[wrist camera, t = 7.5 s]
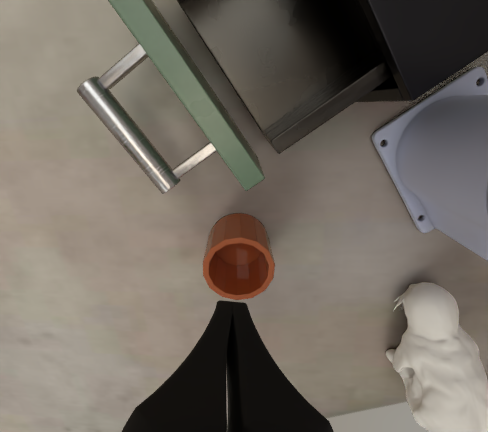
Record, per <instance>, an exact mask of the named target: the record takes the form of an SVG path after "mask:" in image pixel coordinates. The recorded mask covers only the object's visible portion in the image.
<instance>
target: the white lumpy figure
mask: <svg viewBox="0 0 488 432" xmlns="http://www.w3.org/2000/svg"><path fill="white" fill-rule="evenodd" d="M398 299H399V301H398V303H397V305H396V306H395V308H394V310H395V309H396V307H397V306H399V305H400V304H402V303H401V302H403V304H404V311H405V315H406V316H407V319H408V321H407V323H408V328H407V330H406V331H405V332H404V334H403V335H402V340H401V343H400V345H399V346H398V347H397V349H396V350H395V349H389V350H387V351H386V356H387V358H388V359H389V360H390V361H391V362H392V364H393V368H394V369H395V371H396V372H398V373H400V376H401V377H402V378H403V383H404V385H405V387H406V398H407V402H408V404H409V406H410V408H411V410H412V414H413V416H414V418H415V420H416V422H417V424H418V425H420V426H421V427H423V428H425V429H427V430H428V431H429V432H488V381H487V376H486V373H485V370H484V367H483V365H482V362H481V360H480V358H479V348H478V346H477V344H476V343H475V341H474V340H473V339H472V338H471V336H470V335H469V334H468V333H467V332H465V331H464V330H463V328H462V327H461V326H460V325H459V309H458V305H457V302H456V300H455V298H454V297H453V296H452V295H451V294H450V293H449V292H448V291H447V290H446V289H444V288H443V287H441V286H439V285H437V284H434V283H427V282H421V283H418V284H411V285H409V288H408V289H407V290H406V292H405V293H404V294H402V295H401V296H399V297H398V298H397V299H396V300H398ZM396 300H395V301H396ZM395 301H394V302H395ZM402 306H403V305H402ZM399 310H400V309H399ZM401 310H402V309H401Z"/></svg>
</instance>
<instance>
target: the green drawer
mask: <svg viewBox="0 0 488 432" xmlns="http://www.w3.org/2000/svg"><path fill="white" fill-rule="evenodd" d="M108 1H109V2H110V4H111V5H112V7H113V8H114V9H115V11H116V12H117V13H118V15H119V16H120V18H121V19H122V20H123V22H124V23H125V25H126V26H127V27H128V29H129V30H130V31H131V33H132V34H133V36H134V37H135V38H136V40H137V41H138V43H139V44H138V45H137V46H136V47H134V48H133V49H132V50H131V51H130V52H129V53H127V54H126V55H125V56H124V57H123V58H122V59H121V60H119V61H118V62H117V63H116V64H115V65H114V66H113V67H111V68H110V69H109V70H108V71H107V72H106V73H105V74H103V75H102V76H101V77H100V78H99V77H92V78H90V79H88V80H86V81H84V82H83V83H82V84H81V85H80V86H79V87H78V89H77V92H78V94H79V95H80V96H81V97H82V99H83V100H84V101H85V102H86V103H87V104H88V106H89V107H90V108H91V109H92V110H93V112H94V113H95V114H96V115H97V116H98V118H99V119H100V120H101V121H102V122H103V124H104V125H105V126H106V127H107V128H108V130H109V131H110V132H111V133H112V134H113V135H114V137H115V138H116V139H117V140H118V141H119V143H120V144H121V145H122V146H123V147H124V149H125V150H126V151H127V152H128V153H129V155H130V156H131V157H132V158H133V159H134V161H135V162H136V163H137V164H138V165H139V167H140V168H141V169H142V170H143V171H144V172H145V174H146V175H147V176H148V177H149V178H150V180H151V181H152V182H153V183H154V184H155V186H156V187H157V188H158V189H159V190H160V192H161V193H162V194H164V193H166V192H167V191H169V190H170V189H171V188H173V187H174V186H175V185H177V184H178V183H179V182H180V177H181V176H183V175H184V174H185V173H187V172H188V171H190V170H191V169H192V168H194V167H195V166H196V165H198V164H199V163H201V162H202V161H203V160H205V159H206V158H207V157H209V156H210V155H212V154H213V153H214V152H216V151H217V152H218V153H219V155H220V156H221V157H222V159H223V160H224V162H225V163H226V164H227V166H228V167H229V169H230V170H231V171H232V173H233V174H234V175H235V177H236V178H237V180H238V181H239V182H240V184H241V185H242V187H243V188H244V189H245V190H246V191H247V190H249V189H250V188H252V187H253V186H255V185H256V184H258V183H259V182H260V181H262V180H263V179H264V178H265V177H264V174H263V171H262V169H261V166H260V163H259V160H258V157H257V155H256V154H255V153H254V151H253V150H252V148H251V147H250V145H249V144H248V142H247V141H246V139H245V138H244V136H243V135H242V133H241V132H240V130H239V129H238V127H237V126H236V124H235V123H234V121H233V120H232V118H231V117H230V115H229V114H228V113H227V111H226V110H225V108H224V107H223V105H222V104H221V102H220V101H219V99H218V98H217V96H216V95H215V93H214V92H213V90H212V89H211V87H210V86H209V84H208V83H207V81H206V80H205V78H204V77H203V76H202V74H201V73H200V71H199V70H198V68H197V67H196V65H195V64H194V62H193V61H192V59H191V58H190V56H189V55H188V53H187V52H186V50H185V49H184V47H183V46H182V44H181V43H180V41H179V40H178V38H177V37H176V36H175V34H174V33H173V31H172V30H171V28H170V27H169V25H168V24H167V22H166V21H165V19H164V18H163V16H162V15H161V13H160V12H159V10H158V9H157V7H156V6H155V4H154V3H153V1H152V0H108ZM177 2H178V3H179V5H180V6H181V8H182V9H183V11H184V12H185V14H186V15H187V17H188V19H189V20H190V22H191V23H192V25H193V26H194V28H195V29H196V31H197V32H198V34H199V35H200V37H201V39H202V40H203V42H204V43H205V45H206V46H207V48H208V49H209V51H210V52H211V54H212V56H213V57H214V59H215V60H216V62H217V63H218V65H219V66H220V68H221V69H222V71H223V73H224V74H225V76H226V77H227V79H228V80H229V82H230V83H231V85H232V86H233V88H234V89H235V91H236V93H237V94H238V96H239V97H240V99H241V100H242V102H243V103H244V105H245V106H246V108H247V110H248V111H249V113H250V114H251V116H252V117H253V119H254V120H255V122H256V123H257V125H258V126H259V128H260V130H261V131H262V133H263V134H264V136H265V137H266V139H267V140H268V142H269V143H270V144H271V145H272V146H273V148H274V149H275V150H276V151H277V153H278V154H280V153H281V152H283V151H284V150H286V149H287V148H289V147H290V146H291V145H293V144H294V143H296V142H297V141H299V140H300V139H302V138H303V137H305V136H306V135H308V134H309V133H310V132H312V131H313V130H315V129H316V128H318V127H319V126H321V125H322V124H324V123H325V122H326V121H328V120H329V119H331V118H332V117H334V116H335V115H337V114H338V113H340V112H341V111H342V110H344V109H345V108H347V107H348V106H350V105H351V104H353V103H354V102H356V101H357V100H359V99H360V98H361V97H363V96H364V95H366V94H367V93H369V92H370V91H372V90H373V89H375V88H376V87H377V86H379V85H380V84H382V83H383V82H385V81H386V80H388V79H389V78H391V77H392V76H393V74H392V72H391V70H390V68H389V66H388V63H387V61H386V59H385V57H384V54H383V52H382V50H381V48H380V46H379V43H378V41H377V39H376V37H375V35H374V32H373V30H372V28H371V26H370V24H369V21H368V19H367V17H366V15H365V12H364V10H363V8H362V6H361V4H360V1H359V0H177ZM147 57H149V58H150V59H151V61H152V62H153V63H154V65H155V66H156V67H157V69H158V70H159V72H160V73H161V74H162V76H163V77H164V79H165V80H166V81H167V83H168V84H169V85H170V87H171V88H172V90H173V91H174V92H175V94H176V95H177V97H178V98H179V99H180V101H181V102H182V103H183V105H184V106H185V108H186V109H187V110H188V112H189V113H190V115H191V116H192V117H193V119H194V120H195V121H196V123H197V124H198V126H199V127H200V128H201V130H202V131H203V133H204V134H205V135H206V137H207V138H208V139H209V141H210V142H209V143H208V144H207V145H205V146H204V147H203V148H201V149H200V150H198V151H197V152H196V153H194V154H193V155H192V156H190V157H189V158H188V159H186V160H185V161H184V162H182V163H181V164H179V165H178V166H177V167H175V168H174V169H173V170H172V168H171V167H170V166H169V165H168V163H167V162H166V161H165V160H164V158H163V157H162V156H161V155H160V153H159V152H158V151H157V150H156V148H155V147H154V146H153V145H152V143H151V142H150V141H149V140H148V138H147V137H146V136H145V135H144V133H143V132H142V131H141V130H140V128H139V127H138V126H137V125H136V123H135V122H134V121H133V120H132V118H131V117H130V116H129V114H128V113H127V112H126V111H125V109H124V108H123V107H122V106H121V104H120V103H119V102H118V101H117V99H116V98H115V97H114V96H113V94H112V93H111V92H110V91H109V89H111V88H112V87H113V86H115V85H116V84H117V83H118V82H119V81H120V80H122V79H123V78H124V77H125V76H126V75H128V74H129V73H130V72H131V71H132V70H133V69H135V68H136V67H137V66H138V65H139V64H140V63H142V62H143V61H144V60H145V59H146V58H147Z"/></svg>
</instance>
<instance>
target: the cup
mask: <svg viewBox="0 0 488 432" xmlns="http://www.w3.org/2000/svg"><path fill="white" fill-rule="evenodd" d="M274 268H275V263H274V259H273V255H272V250H271V246H270V241H269V238H268V235H267V232H266V229H265V227H264V226H263V224H262V223H261V222H260V221H259V220H258V219H256V218H255V217H253V216H250V215H247V214H242V213H235V214H230V215H227V216H225V217H223V218H221V219H220V220H219V221H218V222H217V223H216V224H215V225H214V226H213V228H212V230H211V232H210V235H209V238H208V243H207V247H206V252H205V256H204V261H203V276H204V278H205V280H206V282H207V284H208V285H209V287H210V288H211V289H212V290H213V291H215V292H216V293H218V294H219V295H220V296H222V297H226V298H230V299H234V300H241V299H248V298H253V297H254V296H256V295H258V294H259V293H261V292H263V291H264V290H265V289H266V288H267V287H268V285H269V284H270V282H271V281H272V279H273V276H274Z"/></svg>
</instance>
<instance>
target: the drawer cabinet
mask: <svg viewBox="0 0 488 432" xmlns="http://www.w3.org/2000/svg"><path fill="white" fill-rule="evenodd" d="M359 1H360V4H361V6H362V8H363V10H364V12H365V15H366V17H367V19H368V21H369V24H370V26H371V28H372V30H373V32H374V35H375V37H376V39H377V41H378V43H379V46H380V48H381V50H382V52H383V54H384V57H385V59H386V61H387V63H388V66H389V68H390V70H391V72H392V74H393V76H392V77H391V78H389V79H388V80H386V81H385V82H383V83H382V84H380V85H379V86H377V87H376V88H375V89H373V90H372V91H370V92H369V93H367V94H366V95H364V96H363V97H361V98H360V99H359V100H357V101H356V102H376V101H413V100H415V99H416V98H418V97H419V96H421V95H422V94H424V93H425V92H427V91H428V90H430V89H431V88H433V87H434V86H436V85H437V84H439V83H440V82H442V81H443V80H445V79H447V78H448V77H450V76H451V75H453V74H454V73H456V72H457V71H459V70H460V69H462V68H463V67H465V66H466V65H468V64H469V63H471V62H472V61H474V60H475V59H477V58H478V57H480V56H481V55H483V54H484V53H486V52H488V0H359Z"/></svg>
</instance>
